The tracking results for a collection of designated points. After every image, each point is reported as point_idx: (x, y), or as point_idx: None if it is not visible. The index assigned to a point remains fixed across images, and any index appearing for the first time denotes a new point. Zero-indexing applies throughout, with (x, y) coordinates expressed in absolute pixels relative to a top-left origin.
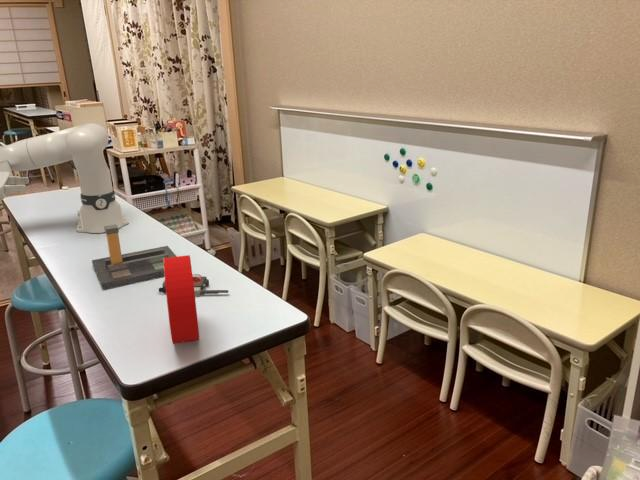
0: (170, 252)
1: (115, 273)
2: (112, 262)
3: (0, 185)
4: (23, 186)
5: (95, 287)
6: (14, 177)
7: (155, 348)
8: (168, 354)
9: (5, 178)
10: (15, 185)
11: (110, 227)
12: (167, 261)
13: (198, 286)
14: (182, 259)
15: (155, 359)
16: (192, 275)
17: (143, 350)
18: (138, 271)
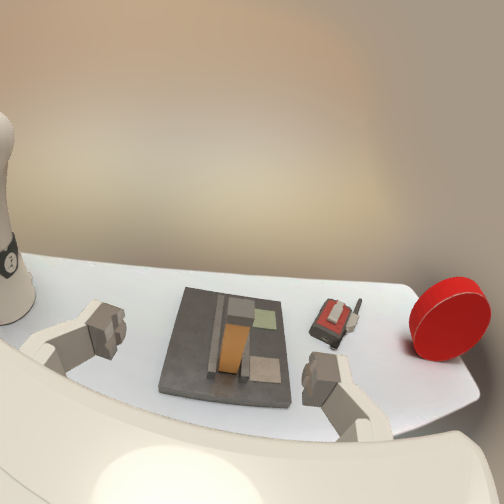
0: (216, 294)
1: (259, 376)
2: (239, 365)
3: (459, 436)
4: (346, 362)
5: (269, 416)
6: (48, 344)
7: (443, 375)
8: (450, 368)
9: (174, 424)
10: (355, 391)
11: (245, 309)
12: (478, 292)
13: (351, 312)
14: (472, 283)
15: (456, 377)
16: (338, 305)
17: (445, 384)
18: (268, 348)
